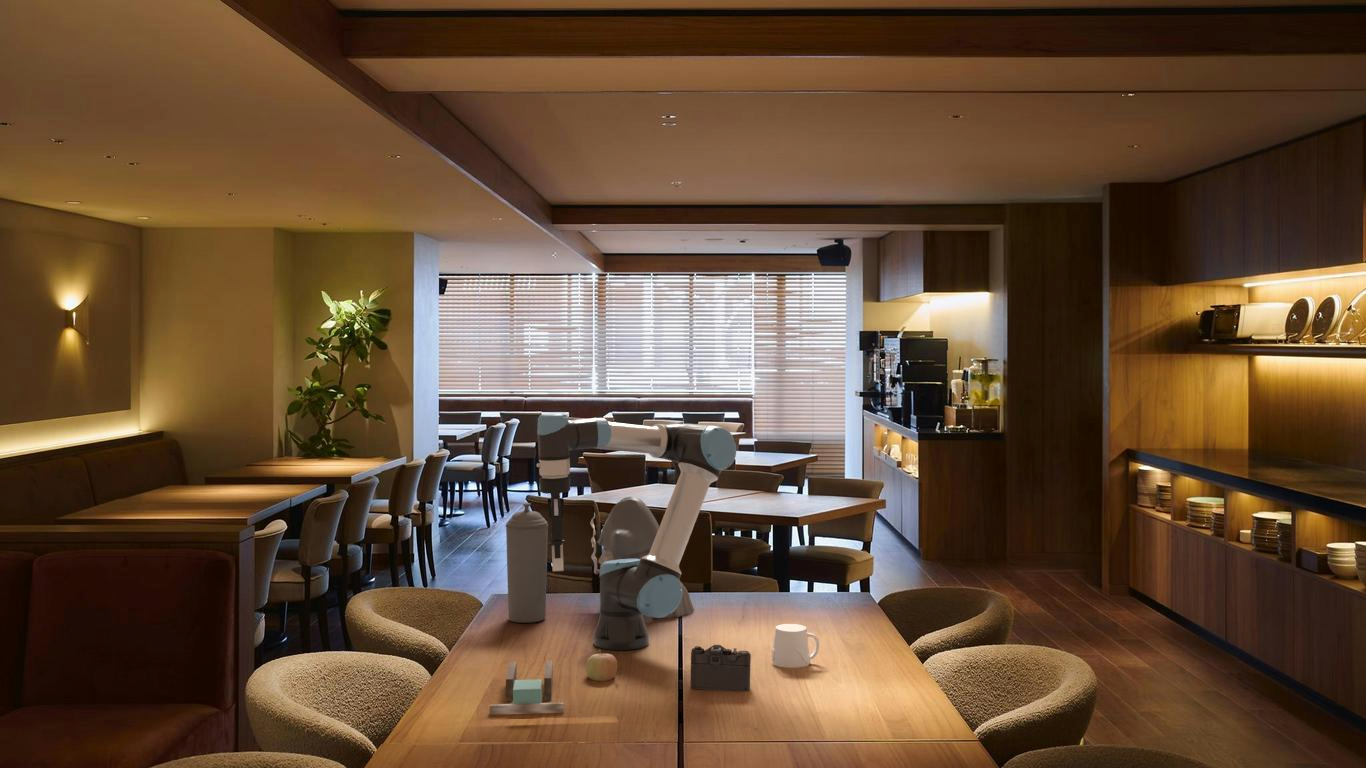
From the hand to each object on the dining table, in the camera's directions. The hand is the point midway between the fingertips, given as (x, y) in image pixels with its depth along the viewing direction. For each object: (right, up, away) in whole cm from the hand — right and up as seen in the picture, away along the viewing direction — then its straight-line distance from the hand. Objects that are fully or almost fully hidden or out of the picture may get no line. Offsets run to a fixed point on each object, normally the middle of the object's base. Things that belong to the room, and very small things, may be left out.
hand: (558, 570), depth 267 cm
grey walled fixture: (-4, -26, -20) cm, 34 cm away
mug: (+60, -26, +10) cm, 66 cm away
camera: (+40, -27, -8) cm, 49 cm away
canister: (-16, -24, +55) cm, 62 cm away
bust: (+18, -24, +67) cm, 74 cm away
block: (-3, -26, -28) cm, 38 cm away
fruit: (+11, -26, -6) cm, 29 cm away
